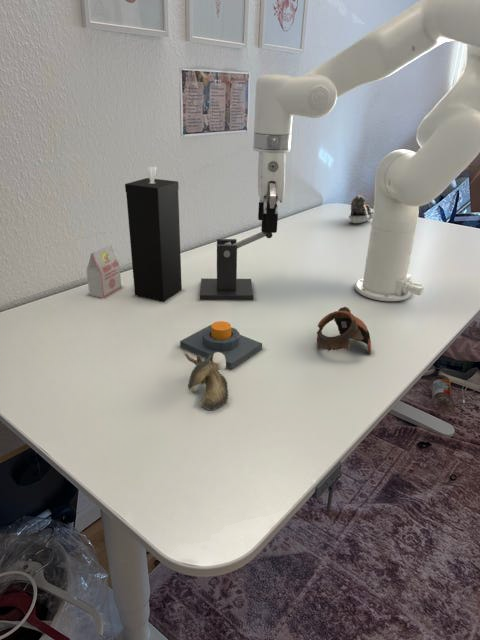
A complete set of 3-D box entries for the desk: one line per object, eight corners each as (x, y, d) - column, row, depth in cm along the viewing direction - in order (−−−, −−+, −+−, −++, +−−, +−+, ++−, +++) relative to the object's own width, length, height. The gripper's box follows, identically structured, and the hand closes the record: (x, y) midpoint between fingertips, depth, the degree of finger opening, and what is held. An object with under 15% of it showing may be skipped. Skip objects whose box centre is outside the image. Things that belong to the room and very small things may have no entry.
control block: (262, 349, 87) (262, 334, 86) (231, 369, 81) (231, 354, 80) (212, 329, 94) (212, 315, 93) (180, 347, 87) (179, 332, 86)
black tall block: (182, 290, 111) (178, 165, 98) (163, 302, 105) (156, 170, 92) (153, 284, 114) (146, 161, 101) (134, 296, 107) (123, 167, 95)
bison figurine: (356, 217, 174) (360, 189, 170) (375, 220, 171) (379, 191, 166) (345, 224, 165) (348, 195, 161) (364, 228, 162) (369, 198, 157)
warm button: (235, 335, 87) (235, 325, 86) (222, 342, 84) (222, 332, 83) (219, 329, 88) (219, 319, 88) (207, 336, 86) (206, 326, 85)
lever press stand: (250, 283, 116) (252, 235, 110) (253, 300, 107) (255, 249, 102) (201, 283, 115) (200, 235, 110) (199, 300, 106) (198, 249, 101)
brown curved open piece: (378, 365, 84) (364, 333, 79) (327, 378, 87) (311, 349, 83) (370, 320, 93) (356, 289, 88) (323, 334, 96) (308, 305, 92)
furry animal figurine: (172, 374, 77) (176, 397, 69) (194, 337, 76) (201, 356, 68) (212, 393, 80) (220, 418, 71) (234, 357, 79) (245, 379, 70)
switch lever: (272, 232, 108) (268, 222, 107) (274, 238, 103) (270, 228, 102) (223, 253, 109) (218, 244, 108) (223, 260, 105) (218, 251, 104)
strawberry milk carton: (89, 295, 107) (84, 252, 103) (108, 284, 113) (104, 244, 109) (103, 298, 106) (98, 255, 102) (121, 287, 112) (117, 246, 107)
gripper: (296, 149, 89) (289, 238, 97) (285, 138, 105) (279, 216, 112) (256, 147, 89) (252, 237, 96) (251, 137, 104) (247, 215, 112)
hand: (266, 225), depth 104 cm, fingers open, 9 cm apart
